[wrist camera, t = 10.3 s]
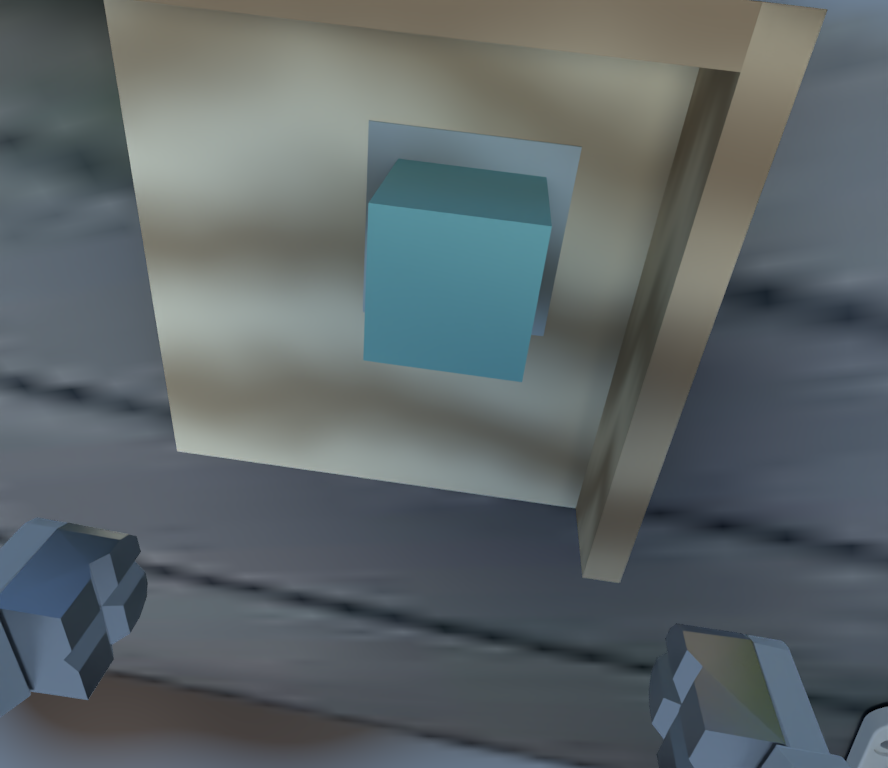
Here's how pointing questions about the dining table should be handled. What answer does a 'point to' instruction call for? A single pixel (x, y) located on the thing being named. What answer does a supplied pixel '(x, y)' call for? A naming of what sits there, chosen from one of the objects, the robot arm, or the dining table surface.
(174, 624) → the dining table surface
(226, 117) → the arena
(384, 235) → the cube
